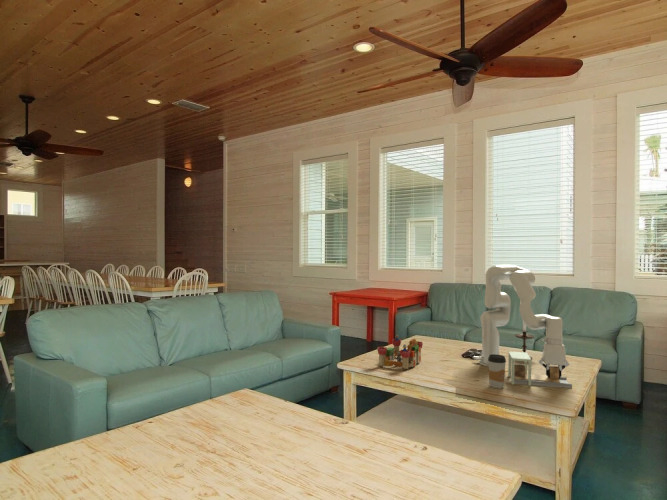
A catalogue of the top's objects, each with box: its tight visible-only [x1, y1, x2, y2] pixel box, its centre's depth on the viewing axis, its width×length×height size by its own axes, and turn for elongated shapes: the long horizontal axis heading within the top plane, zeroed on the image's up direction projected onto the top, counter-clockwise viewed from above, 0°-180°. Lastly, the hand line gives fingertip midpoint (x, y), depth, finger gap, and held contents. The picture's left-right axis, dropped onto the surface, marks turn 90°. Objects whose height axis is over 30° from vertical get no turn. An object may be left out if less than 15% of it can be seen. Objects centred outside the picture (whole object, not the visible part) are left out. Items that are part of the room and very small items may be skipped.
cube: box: [514, 363, 525, 377], centre depth 221 cm, size 5×5×5 cm
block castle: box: [376, 334, 424, 370], centre depth 257 cm, size 30×20×14 cm
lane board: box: [514, 376, 573, 389], centre depth 218 cm, size 26×12×2 cm, turn 74°
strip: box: [515, 365, 560, 383], centre depth 219 cm, size 20×10×7 cm, turn 74°
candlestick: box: [514, 320, 535, 361], centre depth 265 cm, size 11×11×35 cm
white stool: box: [507, 351, 532, 387], centre depth 221 cm, size 9×15×13 cm, turn 164°
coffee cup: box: [488, 354, 507, 389], centre depth 212 cm, size 8×8×15 cm
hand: (553, 377), depth 216 cm, fingers closed on strip, 4 cm apart
